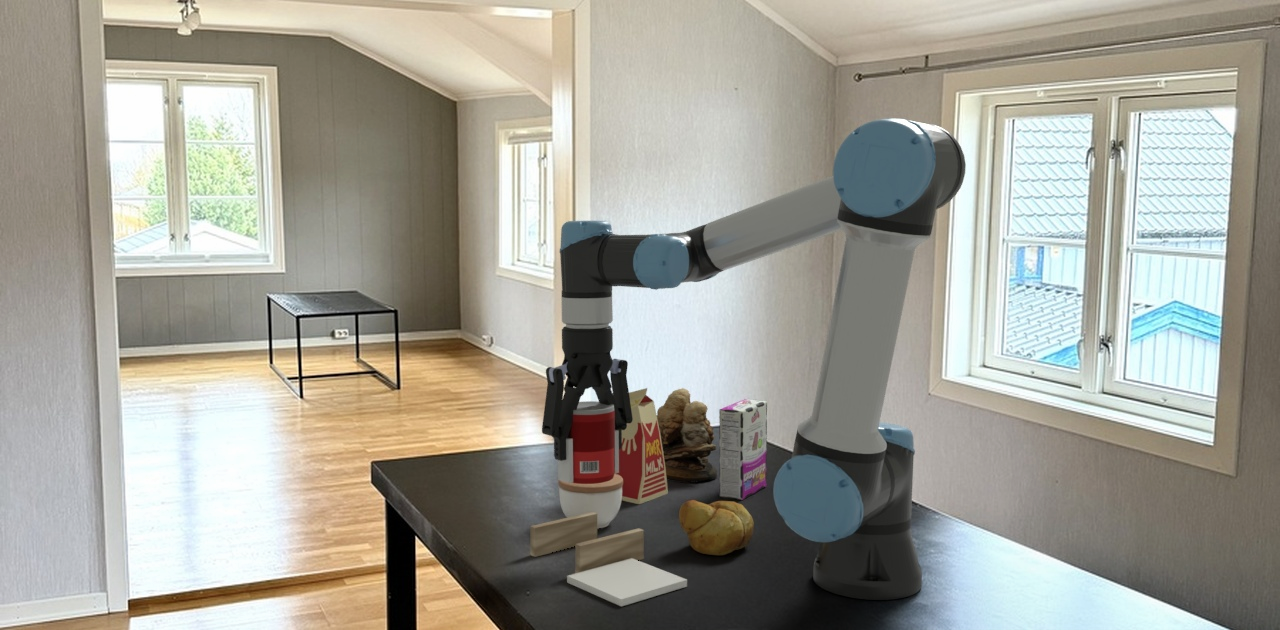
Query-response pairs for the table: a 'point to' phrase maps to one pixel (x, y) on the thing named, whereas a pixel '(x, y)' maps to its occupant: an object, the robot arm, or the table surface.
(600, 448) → the canned food
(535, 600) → the table surface
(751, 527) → the bread roll
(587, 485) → the lidded jar
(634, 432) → the milk carton
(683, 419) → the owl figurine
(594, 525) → the cradle
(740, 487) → the candy bar box
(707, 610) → the table surface
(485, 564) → the table surface
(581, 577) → the coaster
